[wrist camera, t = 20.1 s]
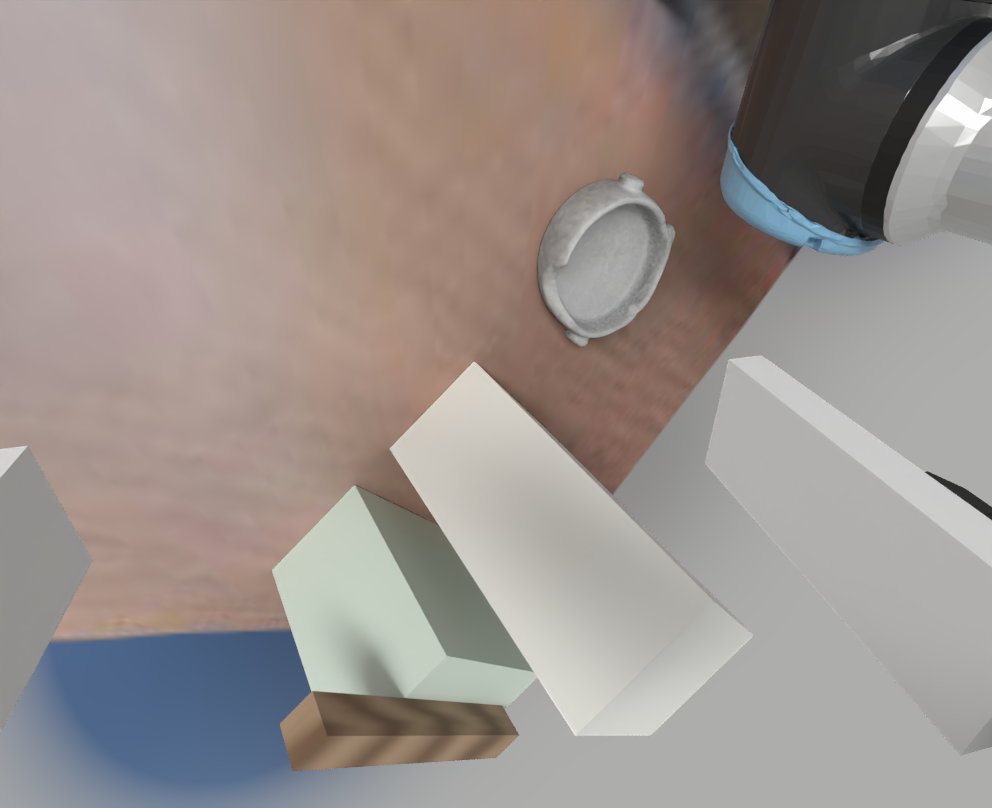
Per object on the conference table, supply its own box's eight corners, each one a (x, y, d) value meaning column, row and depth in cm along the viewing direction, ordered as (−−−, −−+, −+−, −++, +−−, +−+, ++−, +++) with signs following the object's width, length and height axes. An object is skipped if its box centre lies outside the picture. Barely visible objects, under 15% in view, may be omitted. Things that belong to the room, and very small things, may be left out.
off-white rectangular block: (389, 448, 54) (575, 735, 34) (474, 360, 54) (713, 600, 34) (475, 500, 66) (650, 735, 46) (545, 428, 66) (753, 635, 46)
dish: (560, 341, 59) (589, 364, 56) (502, 251, 49) (533, 273, 46) (659, 247, 59) (694, 265, 56) (621, 138, 49) (661, 151, 46)
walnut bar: (279, 723, 35) (292, 771, 33) (312, 690, 35) (327, 736, 33) (479, 727, 53) (496, 757, 51) (501, 705, 53) (519, 735, 51)
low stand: (271, 570, 55) (336, 766, 42) (354, 484, 55) (446, 655, 41) (377, 599, 67) (454, 759, 54) (446, 529, 67) (541, 673, 53)
